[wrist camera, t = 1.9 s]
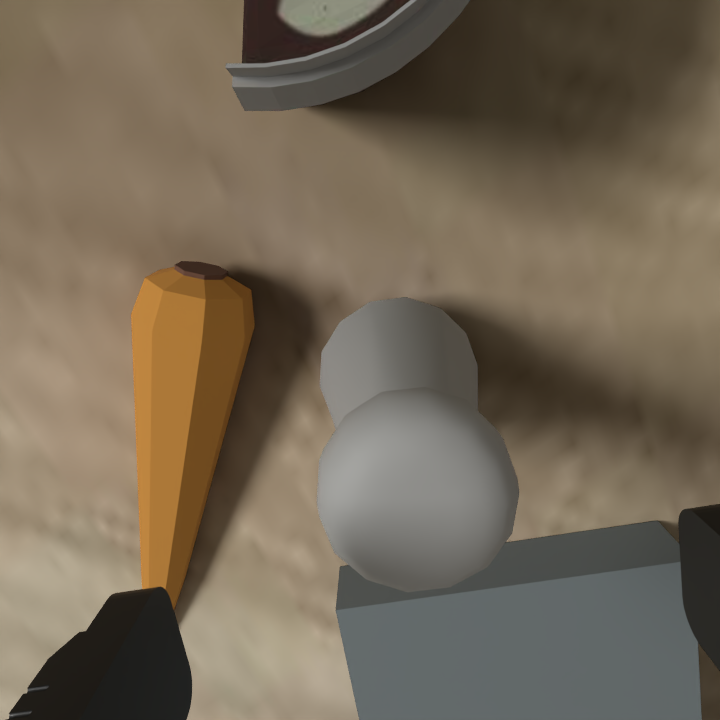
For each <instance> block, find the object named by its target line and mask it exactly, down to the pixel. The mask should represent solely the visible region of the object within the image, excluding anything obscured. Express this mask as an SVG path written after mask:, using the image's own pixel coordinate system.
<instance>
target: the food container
mask: <svg viewBox="0 0 720 720" xmlns="http://www.w3.org/2000/svg"><path fill="white" fill-rule="evenodd" d="M469 1H470V0H244V20H243V50H242V64H226V69H227V70H228V71H229V72H230V74H231V75H232V76H233V81H232V87H233V89H234V91H235V93H236V95H237V97H238V99H239V101H240V103H241V105H242V106H243V108H244V110H245V111H284V110H290V109H296V108H303V107H309V106H315V105H321V104H324V103H327V102H330V101H333V100H336V99H339V98H342V97H345V96H348V95H351V94H355V93H358V92H361V91H364V90H365V89H367V88H368V87H369V86H371V85H373V84H375V83H376V82H378V81H380V80H382V79H384V78H386V77H388V76H390V75H391V74H393V73H395V72H397V71H398V70H399V69H401V68H402V67H403V66H404V65H406V64H407V63H408V62H410V61H411V60H412V59H414V58H415V57H416V56H418V55H419V54H420V53H422V52H423V51H424V50H426V49H427V48H428V47H429V46H430V45H431V44H432V43H433V42H434V41H435V40H436V39H437V38H438V37H439V36H440V35H441V34H442V33H443V32H444V31H445V30H446V29H447V28H448V27H449V26H450V25H451V23H452V22H453V21H454V20H455V19H456V18H457V17H458V16H459V15H460V14H461V12H462V11H463V9H464V8H465V7H466V5H467V4H468V2H469Z"/></svg>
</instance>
